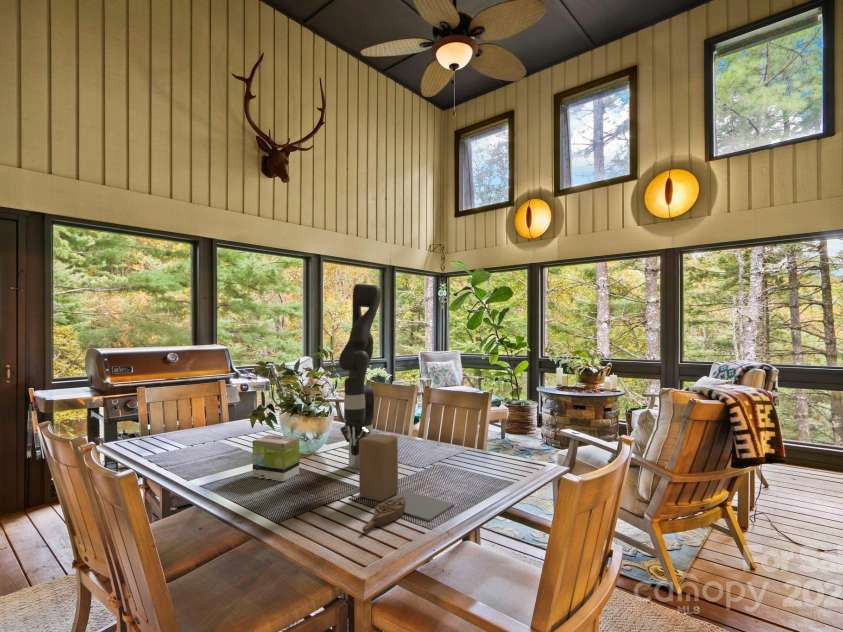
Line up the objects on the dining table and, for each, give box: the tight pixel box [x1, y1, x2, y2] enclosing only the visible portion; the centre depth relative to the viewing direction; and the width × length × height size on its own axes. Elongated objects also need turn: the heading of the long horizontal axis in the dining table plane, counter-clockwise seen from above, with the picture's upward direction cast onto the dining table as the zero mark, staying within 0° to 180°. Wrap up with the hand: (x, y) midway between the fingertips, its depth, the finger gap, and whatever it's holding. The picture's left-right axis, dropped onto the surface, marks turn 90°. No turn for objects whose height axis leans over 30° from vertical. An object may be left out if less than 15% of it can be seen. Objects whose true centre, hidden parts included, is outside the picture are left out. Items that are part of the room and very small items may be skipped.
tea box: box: [252, 434, 300, 481], centre depth 176 cm, size 15×10×15 cm
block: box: [358, 432, 399, 503], centre depth 155 cm, size 10×10×20 cm
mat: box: [383, 490, 455, 522], centre depth 146 cm, size 20×14×1 cm
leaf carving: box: [361, 497, 405, 533], centre depth 136 cm, size 7×22×3 cm, turn 154°
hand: (355, 454), depth 162 cm, fingers closed
